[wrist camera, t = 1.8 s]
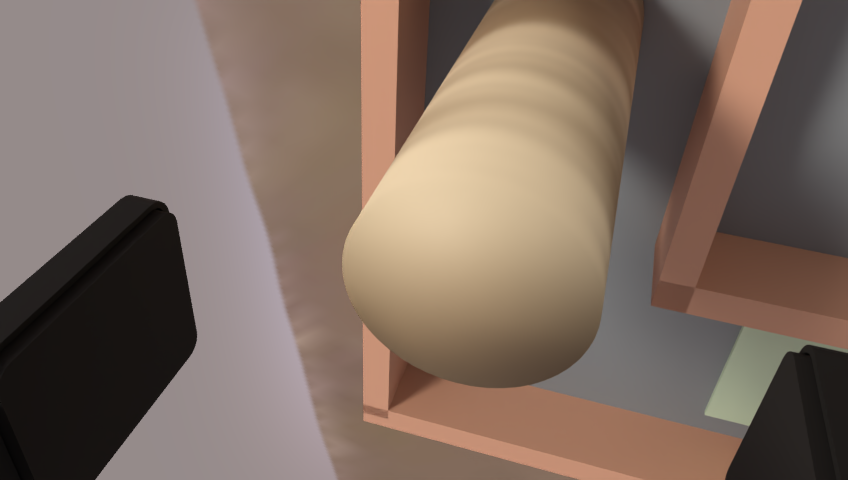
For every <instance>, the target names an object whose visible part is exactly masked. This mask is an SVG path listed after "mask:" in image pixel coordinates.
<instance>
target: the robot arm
mask: <svg viewBox="0 0 848 480" xmlns="http://www.w3.org/2000/svg"><path fill="white" fill-rule="evenodd" d="M196 341H197V331H196V325H195V320H194V314H193V308H192V303H191V297H190V292H189V286H188V280H187V275H186V270H185V264H184V259H183V253H182V248H181V242H180V236H179V231H178V225H177V220H176V217H175V216H174V215H173V214H172V213H169V210H168V208H167V206H166V205H165V203H162V202H160V201H155V200H151V199H146V198H142V197H138V196H133V195H128V196H125V197H124V198H122V199H120V200H119V201H118V202H117V203H116V204H115V205H113V206H112V207H111V208H110V209H109V210H108V211H106V212H105V213H104V214H103V215H102V216H100V217H99V218H98V219H97V220H96V221H95V222H93V223H92V224H91V225H90V226H89V227H88V228H86V229H85V230H84V231H83V232H82V233H81V234H79V235H78V236H77V237H76V238H75V239H74V240H72V241H71V242H70V243H69V244H68V245H67V246H65V248H63V249H62V250H61V251H60V252H59V253H57V254H56V255H55V256H54V257H53V258H52V259H50V260H49V261H48V262H47V263H46V264H45V265H43V266H42V267H41V268H40V269H39V270H38V271H36V272H35V273H34V274H33V275H32V276H31V277H29V278H28V279H27V280H26V281H25V282H24V283H23V284H21V285H20V286H19V287H18V288H17V289H15V290H14V291H13V292H12V293H11V294H10V295H9V296H7V297H6V298H5V299H4V300H3V301H1V302H0V480H95V479H96V478H97V476H98V475H99V474H100V473H101V471H102V470H103V469H104V467H105V466H106V465H107V463H108V462H109V461H110V459H111V458H112V457H113V456H114V454H115V453H116V451H117V450H118V449H119V448H120V446H121V445H122V444H123V443H124V441H125V440H126V439H127V437H128V436H129V435H130V433H131V432H132V431H133V429H134V428H135V427H136V426H137V424H138V423H139V422H140V421H141V419H142V418H143V417H144V415H145V414H146V413H147V411H148V410H149V409H150V408H151V406H152V405H153V404H154V402H155V401H156V400H157V398H158V397H159V396H160V394H161V393H162V392H163V391H164V389H165V388H166V387H167V385H168V384H169V383H170V381H171V380H172V379H173V378H174V376H175V375H176V374H177V372H178V371H179V370H180V368H181V367H182V366H183V365H184V363H185V362H186V361H187V359H188V358H189V357H190V355H191V354H192V352H193V350H194V348H195V344H196ZM725 480H848V353H845V352H841V351H836V350H832V349H827V348H823V347H818V346H814V345H805V346H804V347H803V348H802V349H801V351H800V352H799V353H796V352H792V351H788V352H787V353H786V354H785V356H784V357H783V359H782V361H781V363H780V365H779V367H778V369H777V371H776V373H775V375H774V377H773V379H772V381H771V383H770V385H769V387H768V389H767V391H766V393H765V395H764V398H763V400H762V402H761V404H760V406H759V408H758V410H757V412H756V414H755V416H754V418H753V420H752V422H751V424H750V426H749V428H748V430H747V432H746V434H745V436H744V438H743V440H742V442H741V444H740V446H739V448H738V450H737V452H736V454H735V456H734V458H733V460H732V462H731V464H730V466H729V468H728V471H727V474H726V477H725Z"/></svg>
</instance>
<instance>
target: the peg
mask: <svg viewBox="0 0 848 480" xmlns="http://www.w3.org/2000/svg"><path fill="white" fill-rule="evenodd" d="M643 22H644V4H643V0H494V2H493V3H492V5H491V6H490V8H489V9H488V11H487V13H486V14H485V16H484V17H483V19H482V21H481V22H480V24H479V25H478V27H477V29H476V30H475V32H474V33H473V35H472V37H471V38H470V40H469V41H468V43H467V44H466V46H465V48H464V49H463V51H462V52H461V54H460V56H459V57H458V59H457V60H456V62H455V64H454V65H453V67H452V68H451V70H450V72H449V73H448V75H447V76H446V78H445V80H444V81H443V83H442V84H441V86H440V87H439V89H438V91H437V92H436V94H435V95H434V97H433V99H432V100H431V102H430V103H429V105H428V107H427V108H426V110H425V111H424V113H423V115H422V116H421V118H420V119H419V121H418V123H417V124H416V126H415V127H414V129H413V130H412V132H411V134H410V135H409V137H408V138H407V140H406V142H405V143H404V145H403V146H402V148H401V150H400V151H399V153H398V154H397V156H396V158H395V159H394V161H393V162H392V164H391V166H390V167H389V169H388V170H387V172H386V173H385V175H384V177H383V178H382V180H381V181H380V183H379V185H378V186H377V188H376V189H375V191H374V193H373V194H372V196H371V197H370V199H369V201H368V202H367V204H366V205H365V207H364V208H363V210H362V212H361V213H360V215H359V216H358V218H357V220H356V221H355V223H354V224H353V226H352V228H351V229H350V232H349V234H348V236H347V239H346V241H345V246H344V250H343V259H342V270H343V279H344V283H345V287H346V290H347V293H348V296H349V298H350V301H351V303H352V305H353V307H354V309H355V310H356V312H357V314H358V316H359V317H360V319H361V320H362V321H363V323H364V324H365V325H366V327H367V328H368V329H369V330H370V331H371V333H372V334H373V335H374V336H375V337H376V338H377V339H378V340H379V341H380V342H381V343H382V344H383V345H385V346H386V347H387V348H388V349H389V350H391V351H392V352H393V353H395V354H396V355H397V356H399V357H400V358H401V359H403V360H405V361H406V362H408V363H410V364H411V365H413V366H415V367H417V368H419V369H421V370H423V371H425V372H427V373H429V374H432V375H434V376H437V377H439V378H442V379H445V380H448V381H452V382H455V383H459V384H464V385H468V386H474V387H483V388H513V387H521V386H527V385H532V384H535V383H539V382H542V381H545V380H547V379H550V378H552V377H554V376H556V375H559V374H560V373H562V372H563V371H565V370H567V369H568V368H570V367H571V366H572V365H573V364H575V363H576V362H577V361H578V360H579V359H580V358H581V357H582V356H583V355H584V354H585V352H586V351H587V350H588V349H589V347H590V346H591V344H592V342H593V341H594V339H595V337H596V334H597V331H598V329H599V326H600V321H601V316H602V310H603V303H604V295H605V288H606V281H607V274H608V267H609V260H610V253H611V246H612V239H613V232H614V225H615V218H616V211H617V204H618V197H619V190H620V183H621V176H622V169H623V162H624V155H625V148H626V141H627V134H628V127H629V120H630V113H631V106H632V99H633V92H634V85H635V78H636V71H637V64H638V57H639V50H640V43H641V36H642V29H643Z"/></svg>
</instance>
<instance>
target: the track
mask: <svg viewBox="0 0 848 480" xmlns="http://www.w3.org/2000/svg"><path fill="white" fill-rule="evenodd" d="M493 2H494V0H361V89H362V210H363V208H364V207H365V205H366V204H367V202H368V201H369V199H370V197H371V196H372V194H373V193H374V191H375V189H376V188H377V186H378V185H379V183H380V181H381V180H382V178H383V177H384V175H385V173H386V172H387V170H388V169H389V167H390V166H391V164H392V162H393V161H394V159H395V158H396V156H397V154H398V153H399V151H400V150H401V148H402V146H403V145H404V143H405V142H406V140H407V138H408V137H409V135H410V134H411V132H412V130H413V129H414V127H415V126H416V124H417V123H418V121H419V119H420V118H421V116H422V115H423V113H424V111H425V110H426V108H427V107H428V105H429V103H430V102H431V100H432V99H433V97H434V95H435V94H436V92H437V91H438V89H439V87H440V86H441V84H442V83H443V81H444V80H445V78H446V76H447V75H448V73H449V72H450V70H451V68H452V67H453V65H454V64H455V62H456V60H457V59H458V57H459V56H460V54H461V52H462V51H463V49H464V48H465V46H466V44H467V43H468V41H469V40H470V38H471V37H472V35H473V33H474V32H475V30H476V29H477V27H478V25H479V24H480V22H481V21H482V19H483V17H484V16H485V14H486V13H487V11H488V9H489V8H490V6H491V5H492V3H493ZM643 4H644V22H643V29H642V36H641V43H640V50H639V57H638V64H637V71H636V78H635V85H634V92H633V99H632V106H631V113H630V120H629V127H628V134H627V141H626V148H625V155H624V162H623V169H622V176H621V183H620V190H619V197H618V204H617V211H616V218H615V225H614V232H613V239H612V246H611V253H610V260H609V267H608V274H607V281H606V288H605V295H604V303H603V310H602V316H601V321H600V326H599V329H598V331H597V334H596V337H595V339H594V341H593V342H592V344H591V346H590V347H589V349H588V350H587V351H586V352H585V354H584V355H583V356H582V357H581V358H580V359H579V360H578V361H577V362H576V363H575V364H573V365H572V366H571V367H570V368H568V369H567V370H565V371H563V372H562V373H560V374H559V375H556V376H554V377H552V378H550V379H547V380H545V381H542V382H539V383H535V384H532V385H527V386H521V387H513V388H483V387H474V386H468V385H464V384H459V383H455V382H452V381H448V380H445V379H442V378H439V377H437V376H434V375H432V374H429V373H427V372H425V371H423V370H421V369H419V368H417V367H415V366H413V365H411V364H410V363H408V362H406V361H405V360H403V359H401V358H400V357H399V356H397V355H396V354H395V353H393V352H392V351H391V350H389V349H388V348H387V347H386V346H385V345H383V344H382V343H381V342H380V341H379V340H378V339H377V338H376V337H375V336H374V335H373V334H372V333H371V331H370V330H369V329H368V328H367V327H366V325H365V324H364V323H363V402H364V421H367V422H370V423H374V424H378V425H381V426H385V427H389V428H392V429H396V430H400V431H403V432H407V433H411V434H414V435H418V436H422V437H425V438H429V439H433V440H436V441H440V442H444V443H447V444H451V445H455V446H458V447H462V448H466V449H469V450H473V451H477V452H480V453H484V454H488V455H491V456H495V457H499V458H502V459H506V460H510V461H513V462H517V463H521V464H524V465H528V466H532V467H535V468H539V469H543V470H546V471H550V472H554V473H557V474H561V475H565V476H568V477H572V478H576V479H579V480H725V477H726V474H727V471H728V468H729V466H730V464H731V462H732V460H733V458H734V456H735V454H736V452H737V450H738V448H739V446H740V444H741V442H742V440H743V438H744V436H745V434H746V432H747V430H748V428H749V426H750V424H751V422H752V420H753V418H754V416H755V414H756V412H757V410H758V408H759V406H760V404H761V402H762V400H763V398H764V395H765V393H766V391H767V389H768V387H769V385H770V383H771V381H772V379H773V377H774V375H775V373H776V371H777V369H778V367H779V365H780V363H781V361H782V359H783V357H784V356H785V354H786V353H787V352H788V351H792V352H796V353H799V352H800V351H801V349H802V348H803V347H804V346H805V345H814V346H818V347H823V348H827V349H832V350H836V351H841V352H845V353H848V0H643Z"/></svg>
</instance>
